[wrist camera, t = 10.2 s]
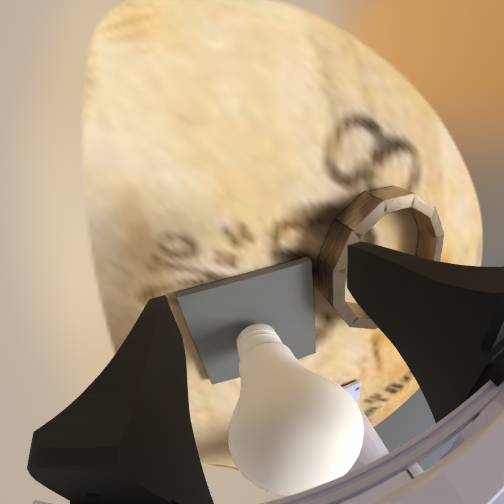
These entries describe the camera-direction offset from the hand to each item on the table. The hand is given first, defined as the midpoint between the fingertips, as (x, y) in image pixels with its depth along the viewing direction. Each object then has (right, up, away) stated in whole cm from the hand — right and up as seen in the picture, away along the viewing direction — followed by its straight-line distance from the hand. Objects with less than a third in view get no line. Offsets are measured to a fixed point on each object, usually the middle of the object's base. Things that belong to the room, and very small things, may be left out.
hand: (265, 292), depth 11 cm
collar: (+8, +1, +8) cm, 12 cm away
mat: (0, -3, +8) cm, 9 cm away
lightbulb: (0, -3, +7) cm, 8 cm away
